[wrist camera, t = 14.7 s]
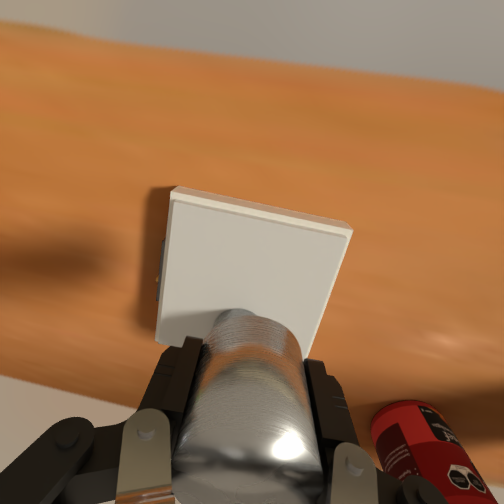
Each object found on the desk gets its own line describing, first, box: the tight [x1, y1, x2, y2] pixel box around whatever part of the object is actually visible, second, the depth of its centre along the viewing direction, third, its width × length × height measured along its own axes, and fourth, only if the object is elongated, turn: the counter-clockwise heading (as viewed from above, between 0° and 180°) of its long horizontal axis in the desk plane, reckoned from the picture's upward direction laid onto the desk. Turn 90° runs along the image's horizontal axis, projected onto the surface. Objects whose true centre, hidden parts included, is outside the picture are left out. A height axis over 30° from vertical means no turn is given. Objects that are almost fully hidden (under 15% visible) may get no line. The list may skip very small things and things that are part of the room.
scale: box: [155, 186, 353, 361], centre depth 26 cm, size 15×14×3 cm
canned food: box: [371, 401, 498, 504], centre depth 29 cm, size 8×8×11 cm
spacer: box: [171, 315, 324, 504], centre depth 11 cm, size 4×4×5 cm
